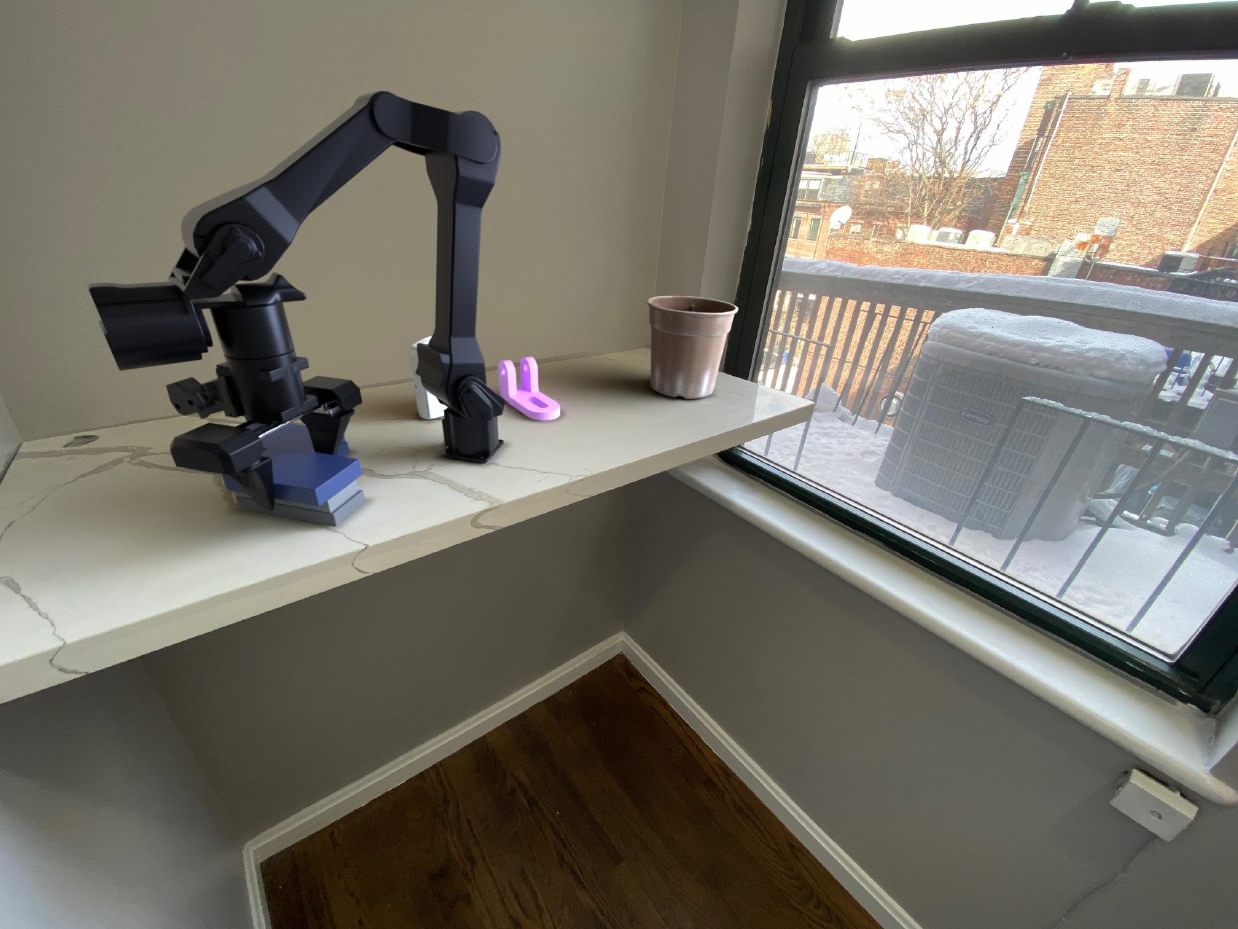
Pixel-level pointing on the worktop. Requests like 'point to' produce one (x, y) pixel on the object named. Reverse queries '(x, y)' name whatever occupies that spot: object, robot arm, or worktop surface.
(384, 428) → the worktop surface
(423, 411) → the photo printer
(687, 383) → the plant pot
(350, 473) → the navy book
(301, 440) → the navy books
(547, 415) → the bracket
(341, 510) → the grey books
